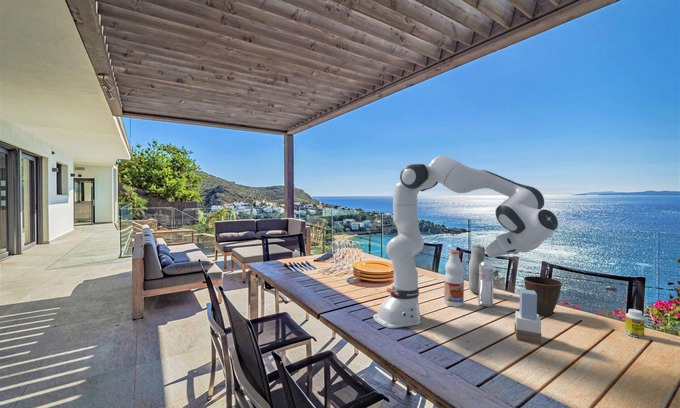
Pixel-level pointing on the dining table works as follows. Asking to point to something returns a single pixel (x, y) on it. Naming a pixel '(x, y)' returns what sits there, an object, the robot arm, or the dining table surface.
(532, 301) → the tall block
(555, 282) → the plant pot
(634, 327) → the supplement bottle
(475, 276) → the grey thermos flask
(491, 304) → the water bottle
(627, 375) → the dining table surface
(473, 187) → the robot arm
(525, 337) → the block bottom
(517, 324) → the block top
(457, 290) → the fruit juice
